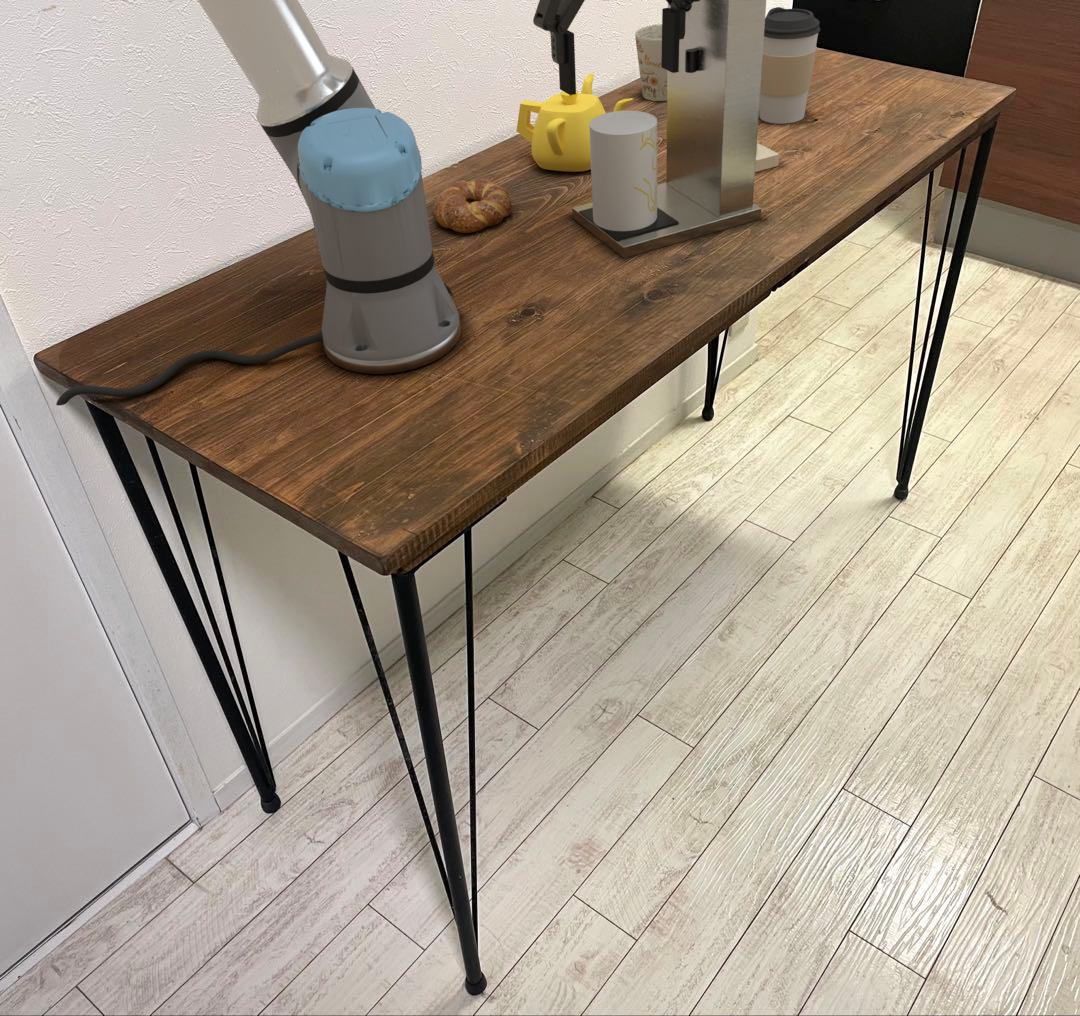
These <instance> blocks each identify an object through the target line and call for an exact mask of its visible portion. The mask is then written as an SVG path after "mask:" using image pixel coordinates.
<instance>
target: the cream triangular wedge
mask: <svg viewBox="0 0 1080 1016" xmlns="http://www.w3.org/2000/svg"><path fill="white" fill-rule="evenodd" d="M779 165H780V153H779V152H776V151H774V150H772V149H770V148H769V147H766V146H765V145H763V144H761V143H759V141H758V140H757V148H756V163H755V173H758V172H760V171H766V170H768V169H772V168H776V167H779Z"/></svg>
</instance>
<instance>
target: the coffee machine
mask: <svg viewBox="0 0 1080 1016" xmlns="http://www.w3.org/2000/svg"><path fill="white" fill-rule="evenodd" d="M667 8H671V6H670V5H669V4H668V3H667ZM766 11H767V0H700V1H698V2H693V3H692V8H691V10H690V11H689V12H686V21H685V36H684V39H680V40H679V72H676V73H672V72H670V71H668V70H667V101H666V160H665V161H666V163H665V165H666V167H665V168H666V170H665V171H666V173H665V175H666V176H665V180H666V181H665V182H662V183H659V184H657V219H656V221H655V222H654V223H653V224H651V225H649V226H647V227H645V228H642V229H638V230H633V231H612V230H607V229H604V228H601V227H599V226H597V225H596V224H595V223H594V221H593V203H592V202H591V201H590V202H587V203H585V204H584V203H583V204H579V205H576V206H573V207H571V213H572V219H573V220H574V221H576V222H577V223H578V224H579V225H581V226H582V227H584V228H585V229H586V230H587V231H589V232H590V233H591V234H592V235H593V236H594V237H596V238H597V239H599V240H600V241H601V242H603V243H604V244H605V245H607V247H609V248H610V249H611V250H613V251H614V252H616V254H618V255H619V256H620V257H622V258H623V259H627V258H630V257H632V256H636V255H639V254H643V253H647V252H650V251H653V250H657V249H660V248H665V247H668V246H671V245H674V244H678V243H682V242H685V241H689V240H693V239H695V238H698V237H699V238H700V237H702V236H706V235H709V234H713V233H716V232H720V231H723V230H727V229H730V228H735V227H737V226H740V225H741V226H742V225H744V224H747V223H751V222H755V221H758V220H759V221H760V220H761V218H762V217H761V216H762V207H760V206H758V205H757V204H755V203H754V193H755V192H754V191H755V176H756V172H755V163H756V148H757V141H758V133H759V132H758V131H759V119H760V117H759V103H760V88H761V73H762V58H763V43H764V28H765V18H766V13H767V12H766Z"/></svg>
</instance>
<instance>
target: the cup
mask: <svg viewBox="0 0 1080 1016" xmlns="http://www.w3.org/2000/svg"><path fill="white" fill-rule="evenodd" d="M589 127H590V152H591V169H590V177H591V199H592V200H591V201H592V203H593V221H594V223H595V224H596V225H597V226H599V227H601V228H604V229H607V230H612V231H633V230H638V229H642V228H645V227H647V226H649V225H651V224H653V223H654V222H655V221H656V219H657V185H658V119H657V117H656V116H655V115H653V114H652V113H648V112H645V111H640V110H624V111H615V112H613V111H610V112H605V114H602V115H599V116H597V117H595V118H593V119H592V120H591V121H590V123H589Z"/></svg>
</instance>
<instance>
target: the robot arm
mask: <svg viewBox="0 0 1080 1016" xmlns="http://www.w3.org/2000/svg"><path fill="white" fill-rule="evenodd" d="M585 1H586V0H539V1H538V3H537V6H536V9H535V13H534V16H533V18H532V21H533V23H532V24H533V25H534V26H535V27H537V28H540V29H541V30H543V31H545V32H549V34H550V35H549V36H550V50H551V60H552V61H553V62H554V63H556V65H558V77H559V78H558V80H559V81H558V82H559V90H560V91H561V92H562V91H564V92H566V93H567V94H569V95H574V94H576V90H577V80H576V78H577V77H576V76H577V75H576V51H575V50H576V48H575V33H574V32H572V31H570V30H569V28H570V27H571V25H572V23H573V21H574V20H575V18H576V16H577V15H578V13H579V11H580V9H581V8H582V6H583V4H584V2H585ZM665 1H666V3H667V5H668V4H669V5H670V6H671V8H668V7H665V8H664V7H663V8H662V9H661V24H662V61H661V67H662V68H664V69H666V70H668V71H670V72H672V73H676V72H679V40H680V39H684V36H685V21H686V12H689V11H690V10H691V8H692V3H693V2H698V1H700V0H665ZM197 2H198V4H199V5H200V6H201V8H202V10H203V12H204V13H205V15H206V16H207V17H208V19H209V20H210V22H211V24H212V25H213V27H214V28H215V30H216V31H217V33H218V35H219V36H220V37H221V40H222V41H223V43H224V44H225V46H226V47H227V49H228V51H229V52H230V54H231V55H232V57H233V58H234V60H235V61H236V63H237V65H238V66H239V67H240V69H241V71H242V72H243V74H244V75H245V77H246V79H247V80H248V82H249V84H250V85H251V86H252V88H253V90H254V91H255V93H256V94H257V96H258V104H257V110H256V116H255V118H256V120H257V122H258V123H259V125H260V127H261V128H262V130H263V131H264V133H265V134H266V136H267V138H268V139H269V140H270V142H271V144H272V145H273V146H274V148H275V150H276V152H277V153H278V154H279V156H280V157H281V159H282V161H283V162H284V163H285V166H286V167H287V169H288V170H289V172H290V173H291V175H292V176H293V178H294V180H295V181H296V184H297V186H298V188H299V190H300V193H301V195H302V197H303V199H304V201H305V203H306V205H307V208H308V210H309V213H310V216H311V220H312V224H313V227H314V232H315V236H316V241H317V245H318V250H319V254H320V255H319V256H320V259H321V264H322V267H323V272H324V276H325V281H326V288H325V290H326V291H325V296H324V306H323V313H322V322H321V331H319V332H316V333H314V334H312V335H308V336H306V337H305V336H304V337H302V338H300V339H297V340H295V341H291V342H290V343H287V344H285V345H282V346H280V347H278V348H276V349H273V350H271V351H269V352H267V353H266V352H265V353H263V354H258V355H242V354H237V353H233V352H229V351H223V350H214V349H213V350H212V349H210V350H203V351H198V352H194V353H191V354H188V355H186V356H184V357H182V358H180V359H179V360H177V361H175V362H173V364H171V365H170V366H169V367H168V368H166V369H165V370H164V371H163V372H162V373H160V374H159V375H157V376H156V377H155V378H153V379H152V380H151V379H150V381H148V382H145V383H142V384H140V385H138V386H137V385H136V386H133V387H109V386H101V385H89V384H87V385H78V386H74V387H72V388H71V387H70V388H69V389H67V390H66V391H64V392H63V393H62V394H61V395H60V396H59V397H58V399H57V400H56V406H59V407H60V406H64V405H66V404H68V402H69V401H70V400H72V399H73V398H74V397H77V396H79V395H98V396H105V397H116V398H117V397H118V398H119V397H120V398H121V397H122V398H126V397H127V398H128V397H135V396H139V395H142V394H145V393H148V392H151V391H152V390H153V391H154V390H155V389H157V388H159V387H160V386H162V385H163V384H165V383H166V382H167V381H168V380H170V379H171V378H173V376H174V375H175V374H177V373H178V372H179V371H181V370H182V369H184V368H185V367H186V366H189V365H190V364H193V363H195V362H199V361H204V360H208V359H209V360H210V359H217V360H223V361H229V362H233V363H236V364H241V365H242V364H243V365H258V364H264V363H268V362H270V361H271V362H272V361H273V360H276V359H278V358H281V357H282V356H284V355H287V354H289V353H291V352H293V351H296V350H299V349H301V348H304V347H307V346H309V345H313V344H315V343H318V342H321V341H322V345H323V348H324V352H325V355H326V357H327V358H328V359H329V360H330V361H331V362H332V363H333V364H335V365H337V366H338V367H340V368H342V369H344V370H348V371H352V372H355V373H359V374H369V375H370V374H372V375H373V374H374V375H383V374H395V373H401V372H406V371H410V370H414V369H417V368H421V367H423V366H426V365H428V364H430V363H433V362H435V361H437V360H439V359H440V358H442V357H443V356H445V355H447V354H448V353H449V352H450V351H451V350H452V349H453V348H454V347H455V346H456V344H457V343H458V341H459V340H460V337H461V334H462V328H461V327H462V326H461V320H460V313H459V311H458V309H457V306H456V304H455V302H454V300H453V298H454V299H456V298H455V295H454V293H453V292H452V289H451V287H450V286H448V285H447V284H446V283H445V282H444V281H443V279H442V277H441V275H440V273H439V271H438V269H437V267H436V263H435V256H434V251H433V243H432V242H433V241H432V236H431V230H430V224H429V223H430V221H429V216H428V215H429V214H428V208H427V202H426V194H425V188H424V187H425V186H424V181H423V174H422V170H423V165H422V164H423V163H422V156H421V150H420V149H419V146H418V145H417V140H416V139H417V138H416V136H415V133H414V131H413V129H412V127H411V126H410V125H409V123H408V122H406V120H405V119H403V118H402V117H400V116H398V115H397V114H395V113H393V112H390V111H384V112H382V111H381V110H380V109H378V108H377V107H375V105H374V102H373V101H372V99H371V97H370V95H369V94H368V91H366V88H365V87H364V85H363V84H362V81H361V79H360V78H359V76H358V74H357V73H356V70H355V69H354V67H353V65H352V64H351V62H350V61H348V60H347V59H345V58H341V57H339V56H335V55H331V54H330V53H329V52H328V50H327V49H326V47H325V45H324V43H323V41H322V39H321V38H320V37H319V34H318V33H317V30H316V29H315V27H314V26H313V24H312V23H311V19H309V17H308V15H307V13H306V12H305V10H304V8H303V6H302V4H301V3H300V1H299V0H197Z"/></svg>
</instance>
